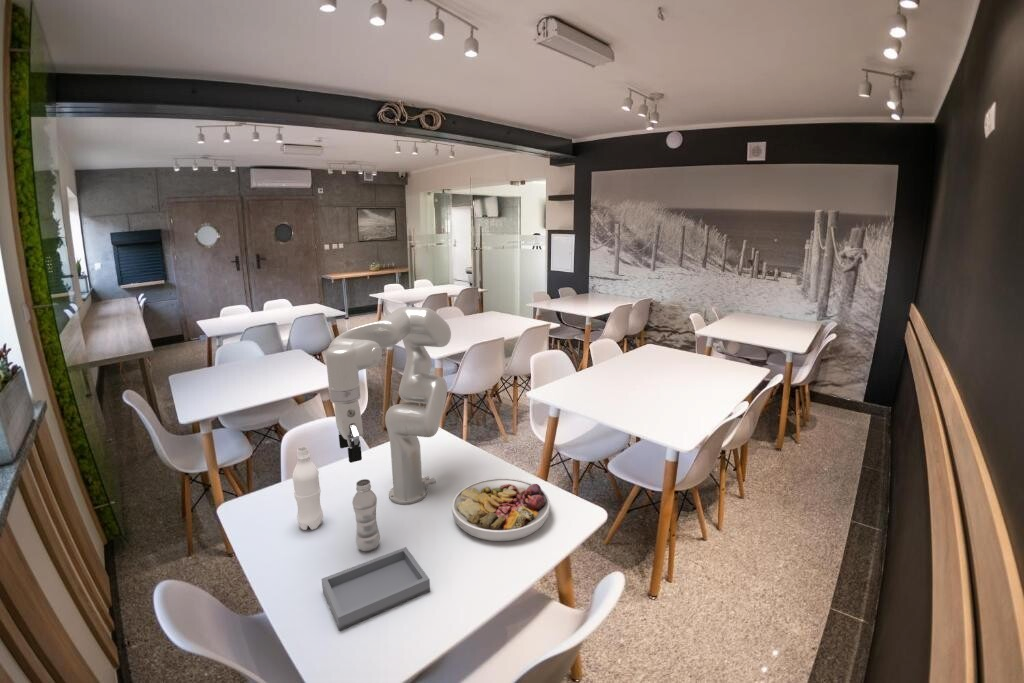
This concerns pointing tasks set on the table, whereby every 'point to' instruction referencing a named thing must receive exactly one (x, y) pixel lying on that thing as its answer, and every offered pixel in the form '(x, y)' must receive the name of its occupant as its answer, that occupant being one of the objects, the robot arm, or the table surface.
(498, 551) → the table surface
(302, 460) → the water bottle
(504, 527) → the bowl
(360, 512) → the plastic bottle
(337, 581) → the tray
